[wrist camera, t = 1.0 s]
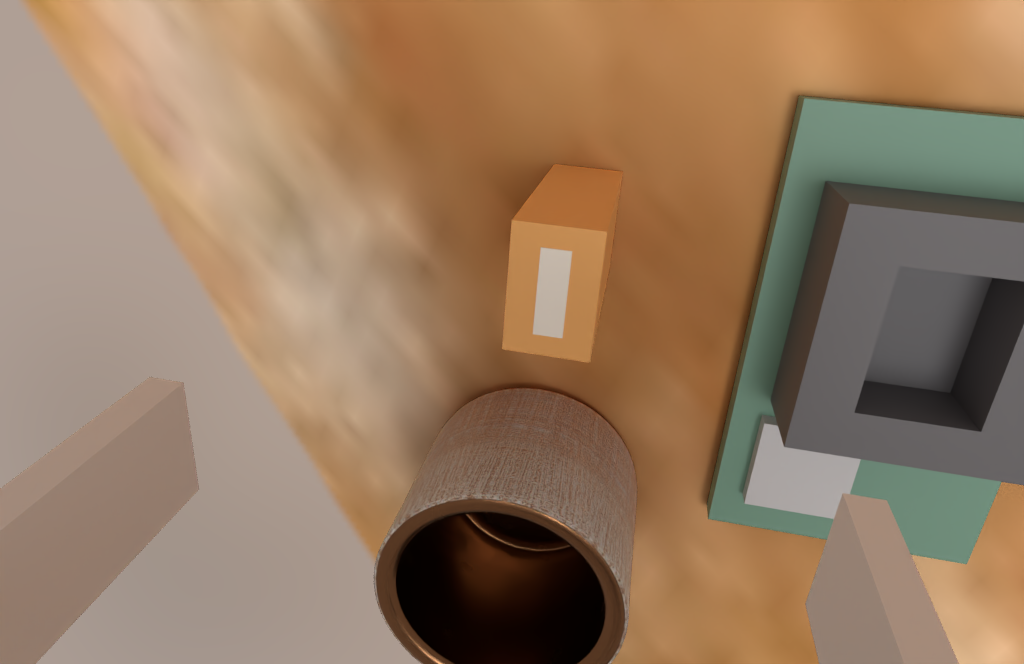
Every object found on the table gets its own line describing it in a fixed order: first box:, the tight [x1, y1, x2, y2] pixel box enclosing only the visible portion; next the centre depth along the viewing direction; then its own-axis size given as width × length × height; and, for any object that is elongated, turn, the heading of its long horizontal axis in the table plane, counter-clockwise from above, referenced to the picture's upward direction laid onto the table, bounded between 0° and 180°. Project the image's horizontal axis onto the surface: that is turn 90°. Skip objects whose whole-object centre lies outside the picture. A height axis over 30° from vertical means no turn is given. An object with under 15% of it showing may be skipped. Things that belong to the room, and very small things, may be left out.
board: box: [707, 96, 1024, 564], centre depth 30 cm, size 20×12×5 cm, turn 175°
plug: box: [502, 164, 623, 363], centre depth 28 cm, size 4×3×10 cm, turn 175°
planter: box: [374, 388, 637, 664], centre depth 34 cm, size 11×11×10 cm
